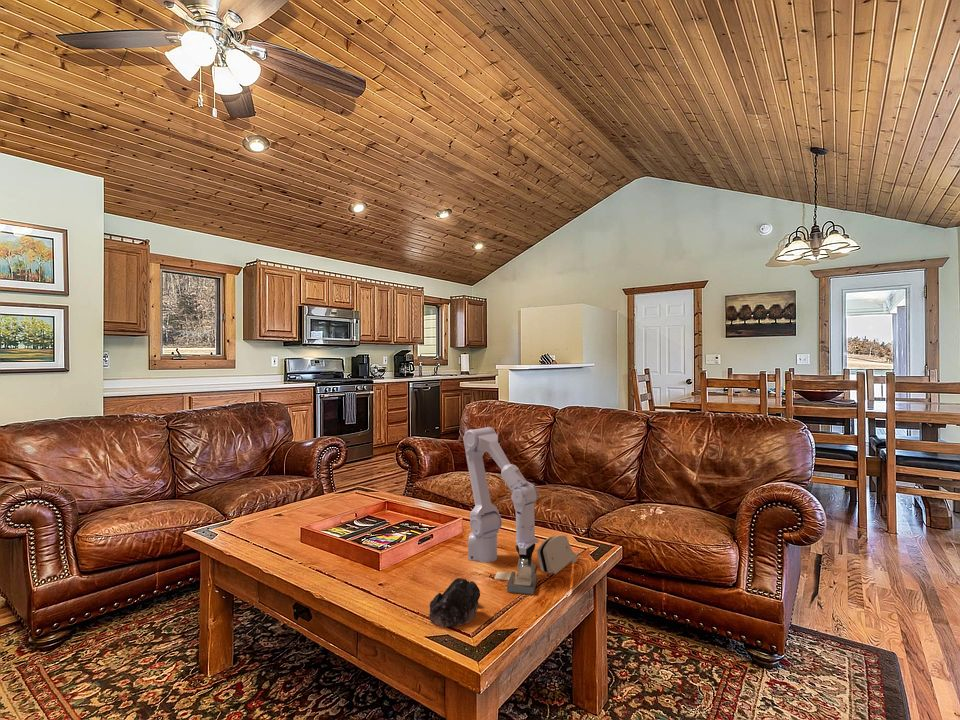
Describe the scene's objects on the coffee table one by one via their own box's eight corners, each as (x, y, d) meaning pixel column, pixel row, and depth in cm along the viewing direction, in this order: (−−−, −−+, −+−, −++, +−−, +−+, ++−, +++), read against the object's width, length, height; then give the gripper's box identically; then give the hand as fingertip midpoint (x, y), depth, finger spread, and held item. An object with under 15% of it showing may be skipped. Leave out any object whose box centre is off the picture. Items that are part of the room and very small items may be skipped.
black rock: (417, 625, 127) (418, 589, 125) (441, 596, 139) (442, 563, 138) (465, 640, 122) (466, 602, 120) (485, 608, 134) (486, 574, 133)
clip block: (517, 577, 148) (517, 562, 147) (519, 569, 152) (518, 554, 150) (531, 578, 147) (530, 563, 146) (532, 570, 151) (531, 555, 150)
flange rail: (507, 595, 140) (507, 585, 140) (517, 567, 158) (516, 558, 158) (533, 598, 138) (533, 587, 138) (540, 569, 157) (540, 559, 157)
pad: (494, 581, 148) (494, 578, 148) (497, 574, 153) (497, 571, 153) (510, 583, 147) (510, 580, 147) (513, 576, 152) (513, 572, 152)
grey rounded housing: (555, 578, 150) (545, 545, 152) (543, 579, 153) (533, 547, 155) (578, 559, 164) (568, 529, 166) (566, 560, 167) (557, 531, 169)
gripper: (535, 534, 142) (536, 580, 143) (540, 517, 157) (541, 559, 157) (511, 532, 144) (512, 578, 144) (518, 516, 158) (519, 558, 158)
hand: (526, 568), depth 151 cm, fingers closed, pressing on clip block
